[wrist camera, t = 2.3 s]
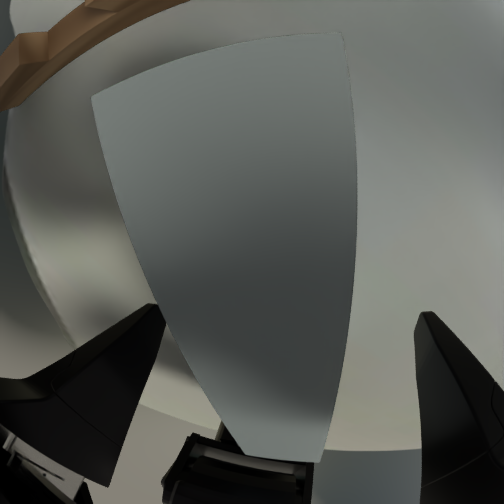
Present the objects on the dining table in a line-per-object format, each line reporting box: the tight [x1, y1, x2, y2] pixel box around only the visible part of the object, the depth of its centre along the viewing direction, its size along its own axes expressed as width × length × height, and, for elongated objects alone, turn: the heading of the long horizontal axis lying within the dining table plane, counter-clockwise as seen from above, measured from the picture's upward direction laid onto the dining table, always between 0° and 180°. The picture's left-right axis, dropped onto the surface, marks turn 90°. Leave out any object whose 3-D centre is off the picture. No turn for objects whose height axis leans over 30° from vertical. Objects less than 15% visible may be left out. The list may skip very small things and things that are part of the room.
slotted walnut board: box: [0, 0, 190, 112], centre depth 7 cm, size 2×20×4 cm, turn 99°
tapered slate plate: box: [91, 33, 357, 462], centre depth 9 cm, size 14×4×8 cm, turn 9°
